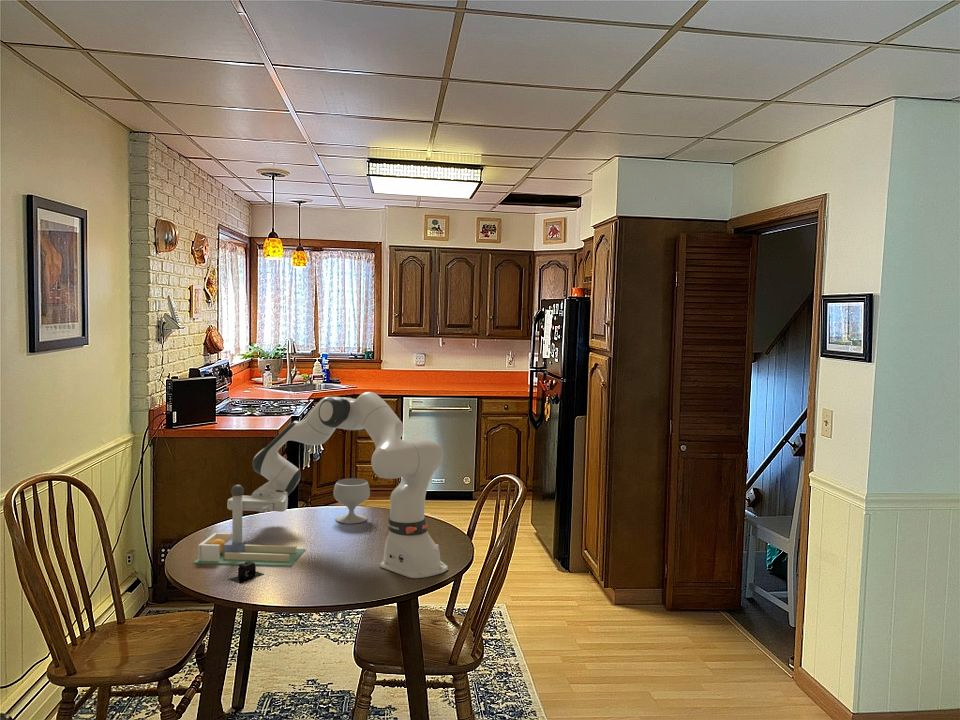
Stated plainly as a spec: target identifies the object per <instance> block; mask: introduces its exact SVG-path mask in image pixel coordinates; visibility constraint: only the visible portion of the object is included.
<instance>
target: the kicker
mask: <svg viewBox="0 0 960 720" xmlns="http://www.w3.org/2000/svg"><path fill="white" fill-rule="evenodd" d="M244 492H245V488H244V487H243V486H242V485H241V484H235V485H233V486H232V487H231V489H230V493H231V495H232V497H233V510H232V532H231V533H232V540H229V541H228V542H226V543H225V544H224V553H225V552H239V553H243V552H244V551H245V545H246V543H245V539H244V540H243V510H242V495H244V494H245V493H244Z"/></svg>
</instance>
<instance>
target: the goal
mask: <svg viewBox="0 0 960 720" xmlns="http://www.w3.org/2000/svg"><path fill="white" fill-rule="evenodd" d="M215 539H222V540H224V541H225V543H226V542H228V541H229V540H232V532H214V533H213V534H211V535H210V536H208V538H206V539H204V540H203V541H201V542H200V543H199V544H198V547H197V548H198V551H197V552H198V553H197V554H198V558H197V559H198V561H220V545H214V544H211V542H212V541H213V540H215ZM296 549H298V547H297V546H296V545H273V544H272V545H271V544H268V545H267V544H245V551H246V552H277V553H296ZM224 559H231V560H262V561H289V554H270V553H239V552H225V553H224Z"/></svg>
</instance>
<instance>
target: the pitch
mask: <svg viewBox="0 0 960 720" xmlns="http://www.w3.org/2000/svg"><path fill="white" fill-rule="evenodd" d="M305 551H306V548H296V553H277V552H246V551H244V552H243V553H270V554H289V561H262V560H231V559H224V552H223V553H221V554H220V561H198V558H197V559H195V560H194V561H193V562H192V564H193V565H194V564H195V565H217V564H222V565H223V566H239V564H242V563H245V562H247V561H250V562H253V563H255V566H256V567H283V568H288V567H289V568H292V567H293V566H294V565H295V564H296V563H297V561H298V560H299V558H300V557H301V556H302V555H303V554H304V553H305ZM303 552H304V553H303ZM302 553H303V554H302ZM222 565H221V566H222Z"/></svg>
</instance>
